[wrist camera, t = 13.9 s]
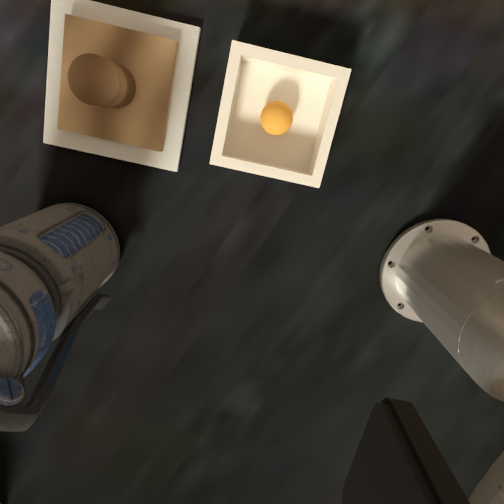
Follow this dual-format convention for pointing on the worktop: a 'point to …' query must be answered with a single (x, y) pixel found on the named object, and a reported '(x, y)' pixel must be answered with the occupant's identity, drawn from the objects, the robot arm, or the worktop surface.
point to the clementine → (276, 118)
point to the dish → (291, 93)
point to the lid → (115, 83)
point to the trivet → (80, 5)
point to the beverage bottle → (47, 297)
